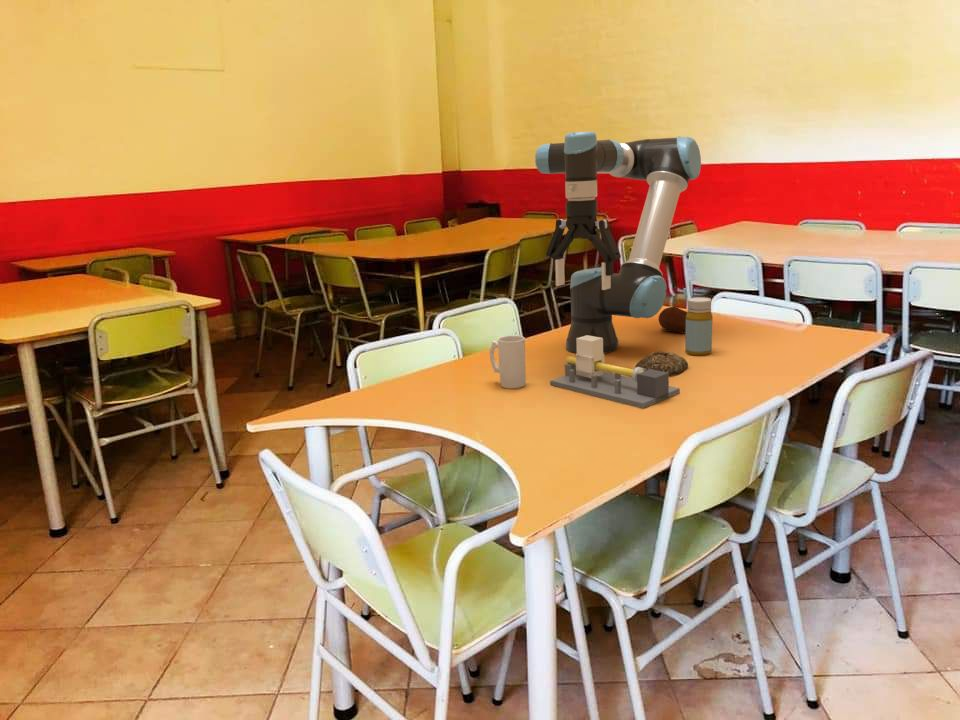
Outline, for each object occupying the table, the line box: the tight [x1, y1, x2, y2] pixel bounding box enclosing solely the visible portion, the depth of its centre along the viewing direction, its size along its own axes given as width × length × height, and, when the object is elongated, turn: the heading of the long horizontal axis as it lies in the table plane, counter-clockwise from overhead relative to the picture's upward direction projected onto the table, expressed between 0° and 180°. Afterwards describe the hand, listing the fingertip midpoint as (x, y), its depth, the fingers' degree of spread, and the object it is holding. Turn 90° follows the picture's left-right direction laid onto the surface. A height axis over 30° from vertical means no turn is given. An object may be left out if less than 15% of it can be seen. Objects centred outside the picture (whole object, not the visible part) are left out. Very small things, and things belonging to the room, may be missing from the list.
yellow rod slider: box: [549, 355, 681, 410], centre depth 179 cm, size 28×14×7 cm, turn 42°
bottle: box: [684, 297, 714, 357], centre depth 204 cm, size 7×7×15 cm
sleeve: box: [575, 335, 605, 378], centre depth 183 cm, size 5×5×9 cm
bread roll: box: [634, 351, 689, 377], centre depth 193 cm, size 13×12×5 cm
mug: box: [489, 335, 527, 390], centre depth 186 cm, size 10×7×12 cm, turn 54°
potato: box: [658, 306, 688, 334], centre depth 230 cm, size 8×12×8 cm, turn 50°
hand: (582, 287), depth 184 cm, fingers open, 13 cm apart
